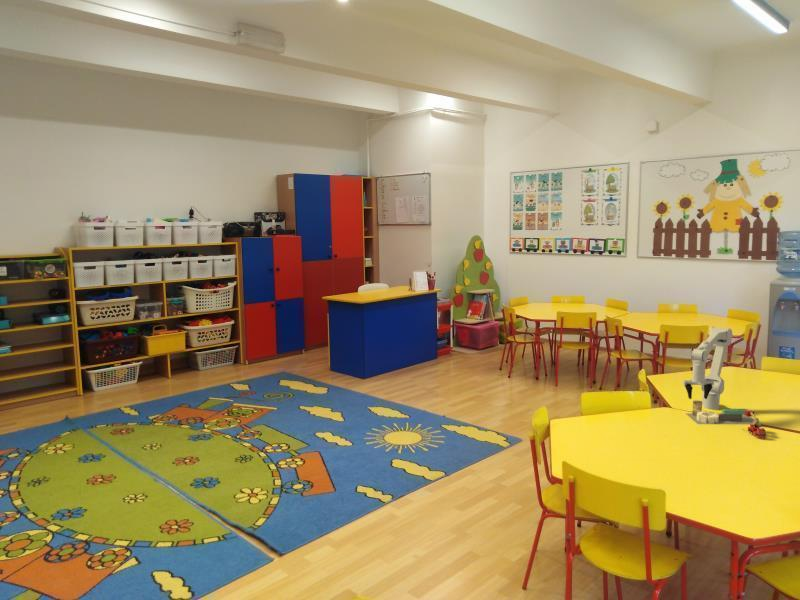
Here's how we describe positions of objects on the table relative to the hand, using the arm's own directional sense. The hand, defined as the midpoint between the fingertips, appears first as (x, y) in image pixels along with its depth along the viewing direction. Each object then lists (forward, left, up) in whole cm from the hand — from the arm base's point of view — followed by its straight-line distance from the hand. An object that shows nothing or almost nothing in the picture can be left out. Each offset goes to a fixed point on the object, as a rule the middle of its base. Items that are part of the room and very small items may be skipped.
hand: (697, 398), depth 308 cm
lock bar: (+8, +15, -5) cm, 18 cm away
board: (+6, +10, -10) cm, 15 cm away
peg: (0, 0, -9) cm, 9 cm away
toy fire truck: (+24, +17, -10) cm, 31 cm away
